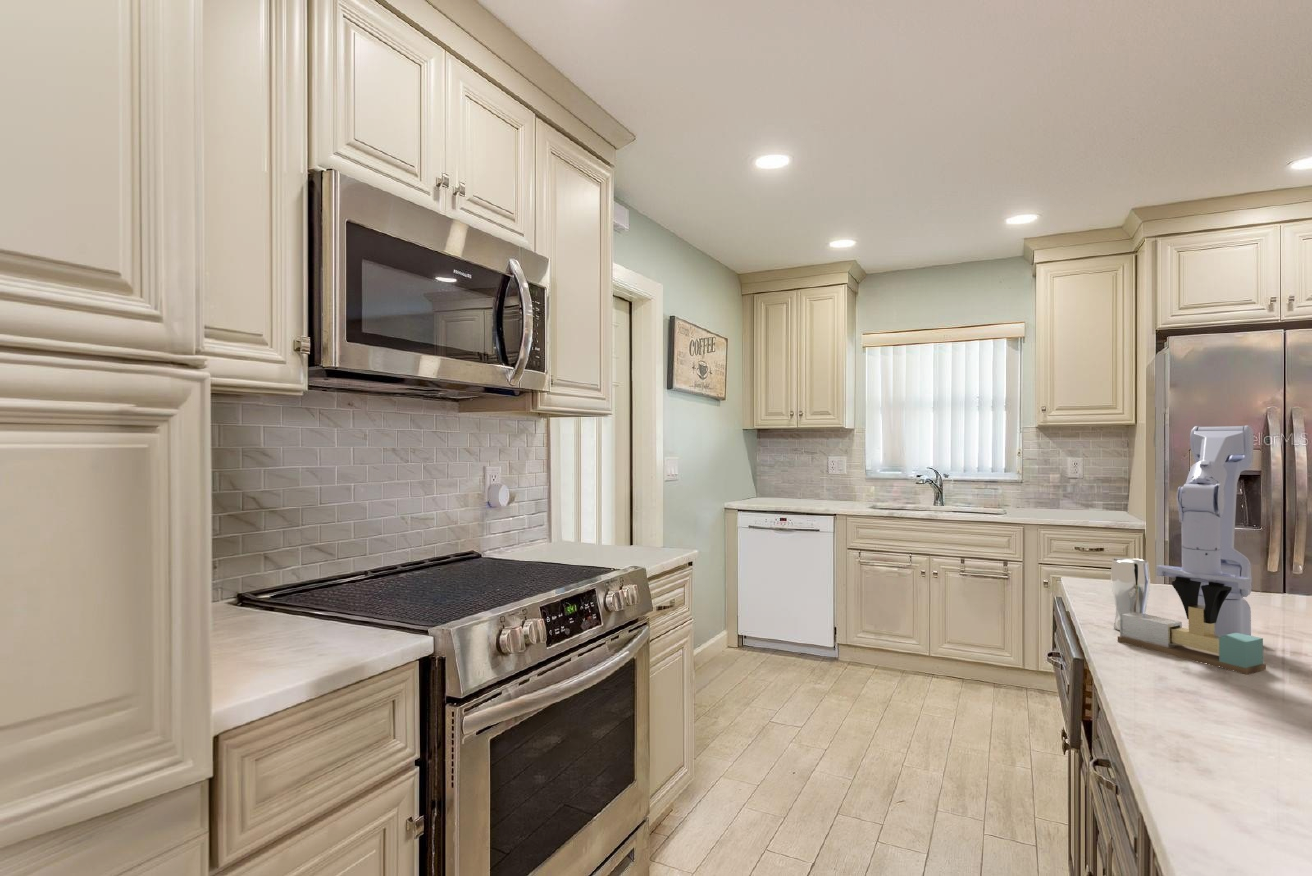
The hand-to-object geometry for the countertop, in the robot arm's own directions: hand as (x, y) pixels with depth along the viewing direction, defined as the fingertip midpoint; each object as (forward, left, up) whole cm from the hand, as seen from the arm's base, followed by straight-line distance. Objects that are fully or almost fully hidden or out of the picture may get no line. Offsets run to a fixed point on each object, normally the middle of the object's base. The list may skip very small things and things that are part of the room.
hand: (1201, 620), depth 129 cm
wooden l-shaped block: (0, -3, -5) cm, 6 cm away
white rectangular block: (0, -9, -6) cm, 11 cm away
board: (0, -2, -7) cm, 7 cm away
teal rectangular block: (0, +6, -6) cm, 9 cm away
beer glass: (-8, -17, -7) cm, 21 cm away
